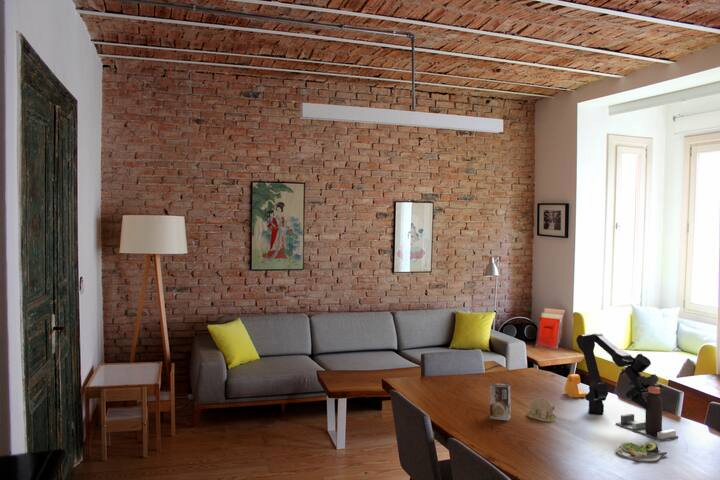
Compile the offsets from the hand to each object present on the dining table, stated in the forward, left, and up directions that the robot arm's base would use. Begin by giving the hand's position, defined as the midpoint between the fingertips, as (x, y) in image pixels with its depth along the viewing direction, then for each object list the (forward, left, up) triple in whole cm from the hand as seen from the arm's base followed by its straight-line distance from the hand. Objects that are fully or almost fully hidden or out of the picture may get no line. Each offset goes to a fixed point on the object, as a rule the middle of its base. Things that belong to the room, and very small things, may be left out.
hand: (655, 408), depth 272 cm
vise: (-3, +4, -12) cm, 13 cm away
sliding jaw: (-7, +8, -11) cm, 16 cm away
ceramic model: (-49, +9, -12) cm, 51 cm away
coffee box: (-68, +2, -12) cm, 69 cm away
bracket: (-31, +56, -12) cm, 65 cm away
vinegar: (0, +1, -11) cm, 11 cm away
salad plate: (-10, -29, -12) cm, 33 cm away
